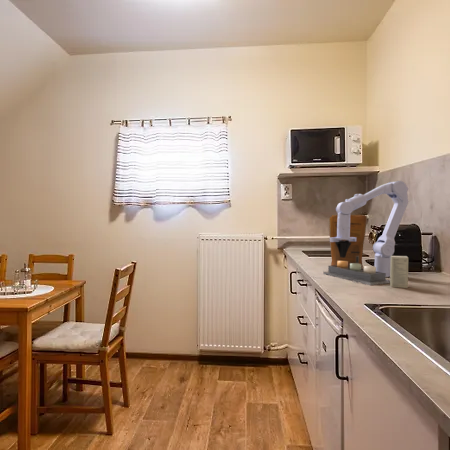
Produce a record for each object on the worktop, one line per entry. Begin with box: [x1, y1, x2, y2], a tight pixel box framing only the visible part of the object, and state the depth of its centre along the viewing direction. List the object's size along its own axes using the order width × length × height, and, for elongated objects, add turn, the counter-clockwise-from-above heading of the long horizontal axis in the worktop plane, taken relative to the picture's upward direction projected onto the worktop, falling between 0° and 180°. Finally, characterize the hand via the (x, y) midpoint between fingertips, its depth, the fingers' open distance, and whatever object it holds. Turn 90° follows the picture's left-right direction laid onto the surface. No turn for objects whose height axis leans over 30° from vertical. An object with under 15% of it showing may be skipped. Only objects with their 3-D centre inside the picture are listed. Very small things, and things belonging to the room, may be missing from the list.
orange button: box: [337, 261, 348, 268], centre depth 170 cm, size 5×5×3 cm
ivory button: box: [363, 265, 376, 274], centre depth 156 cm, size 5×5×3 cm
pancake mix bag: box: [328, 214, 368, 269], centre depth 196 cm, size 7×19×28 cm, turn 67°
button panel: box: [323, 265, 390, 286], centre depth 163 cm, size 12×28×4 cm, turn 26°
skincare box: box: [389, 255, 409, 289], centre depth 146 cm, size 6×4×12 cm
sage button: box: [350, 263, 361, 271], centre depth 163 cm, size 5×5×3 cm
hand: (342, 257), depth 170 cm, fingers closed
